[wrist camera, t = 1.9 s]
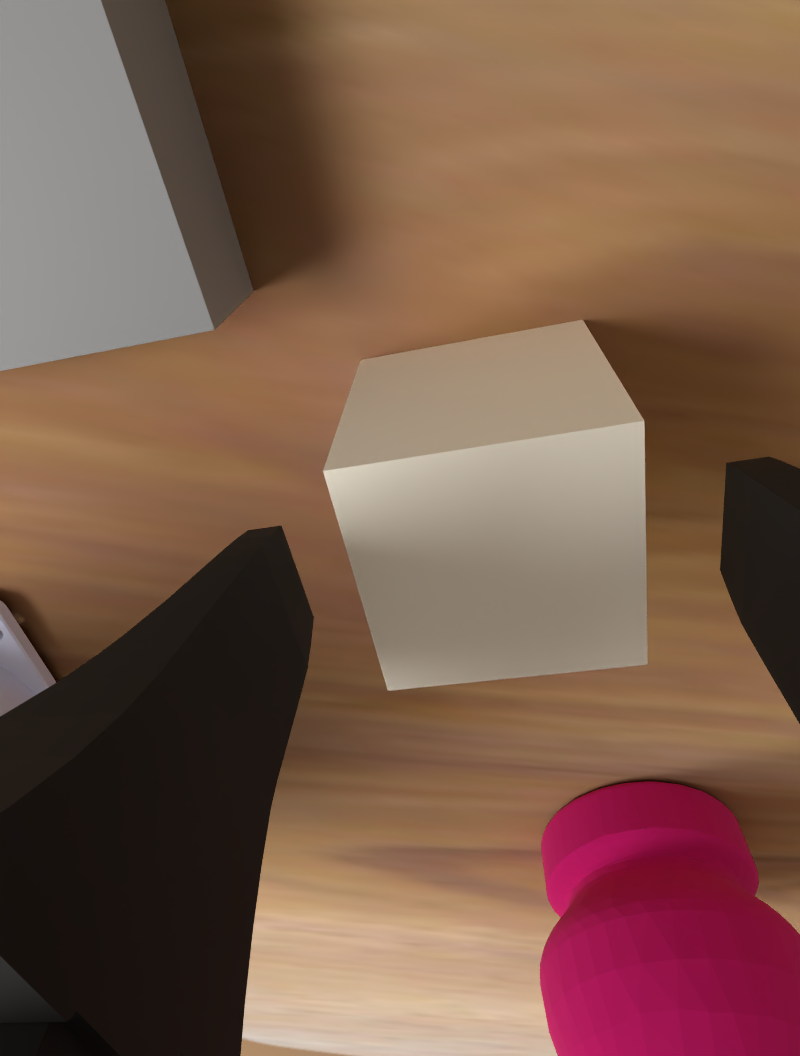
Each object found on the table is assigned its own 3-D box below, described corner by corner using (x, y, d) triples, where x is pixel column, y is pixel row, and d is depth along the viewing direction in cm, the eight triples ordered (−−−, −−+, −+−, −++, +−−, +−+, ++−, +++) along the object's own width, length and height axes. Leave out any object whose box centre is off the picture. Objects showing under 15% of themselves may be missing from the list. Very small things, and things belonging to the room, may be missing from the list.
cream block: (593, 512, 16) (647, 664, 11) (403, 537, 16) (387, 690, 12) (582, 318, 13) (643, 420, 9) (360, 358, 14) (323, 470, 10)
